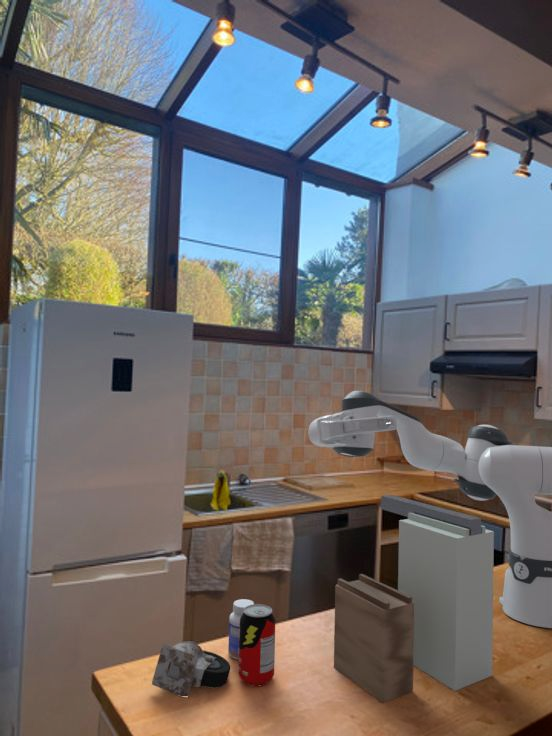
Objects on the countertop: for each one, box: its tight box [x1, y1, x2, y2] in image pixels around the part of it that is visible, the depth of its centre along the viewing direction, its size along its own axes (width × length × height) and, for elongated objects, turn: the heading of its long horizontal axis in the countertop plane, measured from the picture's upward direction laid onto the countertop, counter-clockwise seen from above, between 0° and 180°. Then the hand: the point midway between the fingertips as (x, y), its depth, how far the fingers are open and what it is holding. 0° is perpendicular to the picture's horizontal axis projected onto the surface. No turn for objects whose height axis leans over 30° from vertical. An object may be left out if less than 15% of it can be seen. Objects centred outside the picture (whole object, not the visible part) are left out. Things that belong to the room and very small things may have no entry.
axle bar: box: [380, 494, 482, 536], centre depth 106 cm, size 3×23×3 cm, turn 32°
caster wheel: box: [151, 640, 231, 697], centre depth 94 cm, size 7×11×10 cm
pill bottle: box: [227, 598, 255, 661], centre depth 104 cm, size 5×5×10 cm
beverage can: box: [238, 603, 276, 687], centre depth 96 cm, size 6×6×12 cm
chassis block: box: [333, 573, 414, 704], centre depth 97 cm, size 7×13×16 cm, turn 32°
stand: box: [397, 513, 495, 692], centre depth 102 cm, size 10×14×27 cm
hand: (377, 423), depth 130 cm, fingers open, 8 cm apart
